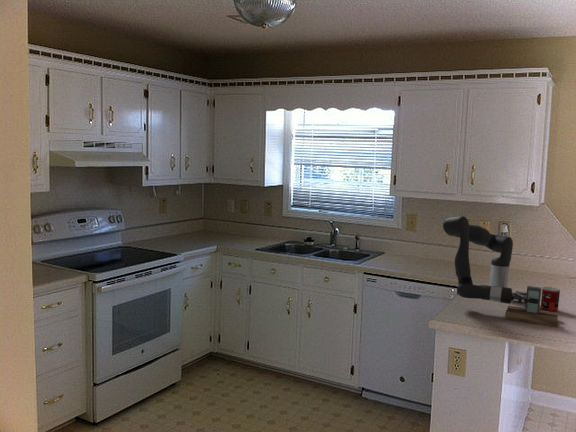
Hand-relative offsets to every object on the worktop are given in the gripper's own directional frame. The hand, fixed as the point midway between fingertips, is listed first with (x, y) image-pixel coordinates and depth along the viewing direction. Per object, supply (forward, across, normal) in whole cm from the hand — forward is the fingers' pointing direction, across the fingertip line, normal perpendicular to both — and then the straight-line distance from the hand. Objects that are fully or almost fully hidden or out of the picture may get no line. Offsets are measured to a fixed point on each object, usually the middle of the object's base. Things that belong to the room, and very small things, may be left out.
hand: (538, 299), depth 267 cm
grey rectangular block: (-2, 0, +8) cm, 9 cm away
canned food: (+5, +24, +10) cm, 27 cm away
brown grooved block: (-2, 0, +10) cm, 10 cm away
